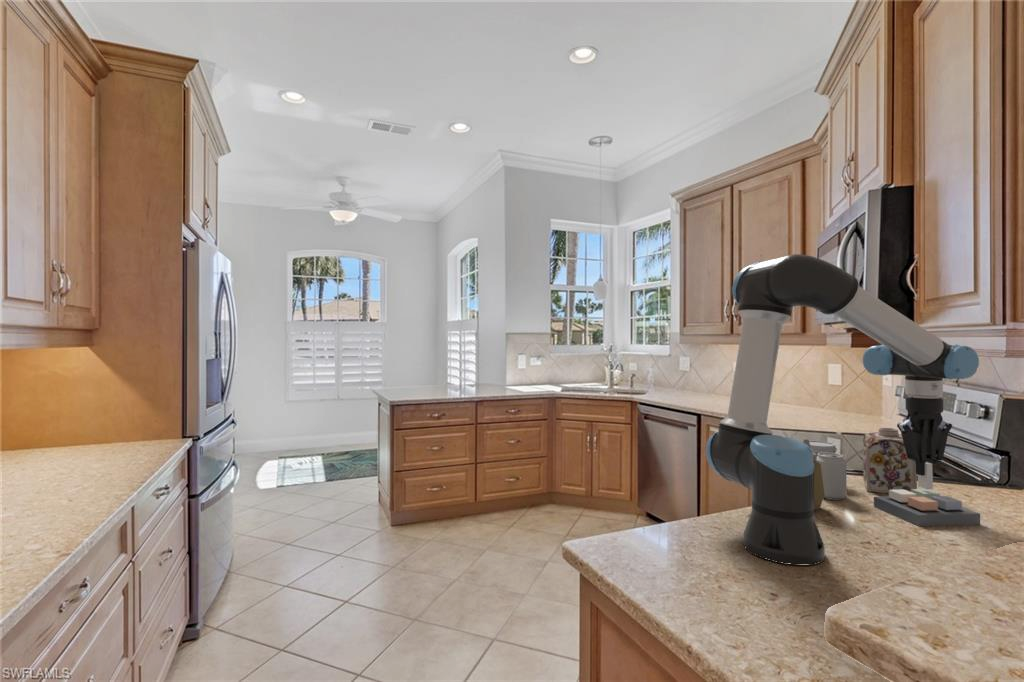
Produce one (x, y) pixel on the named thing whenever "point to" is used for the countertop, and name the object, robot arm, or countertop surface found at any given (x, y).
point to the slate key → (947, 503)
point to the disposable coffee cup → (822, 447)
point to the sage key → (924, 493)
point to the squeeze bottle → (817, 480)
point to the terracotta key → (923, 504)
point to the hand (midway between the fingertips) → (925, 487)
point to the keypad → (927, 514)
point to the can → (833, 475)
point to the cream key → (901, 495)
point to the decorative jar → (887, 462)
